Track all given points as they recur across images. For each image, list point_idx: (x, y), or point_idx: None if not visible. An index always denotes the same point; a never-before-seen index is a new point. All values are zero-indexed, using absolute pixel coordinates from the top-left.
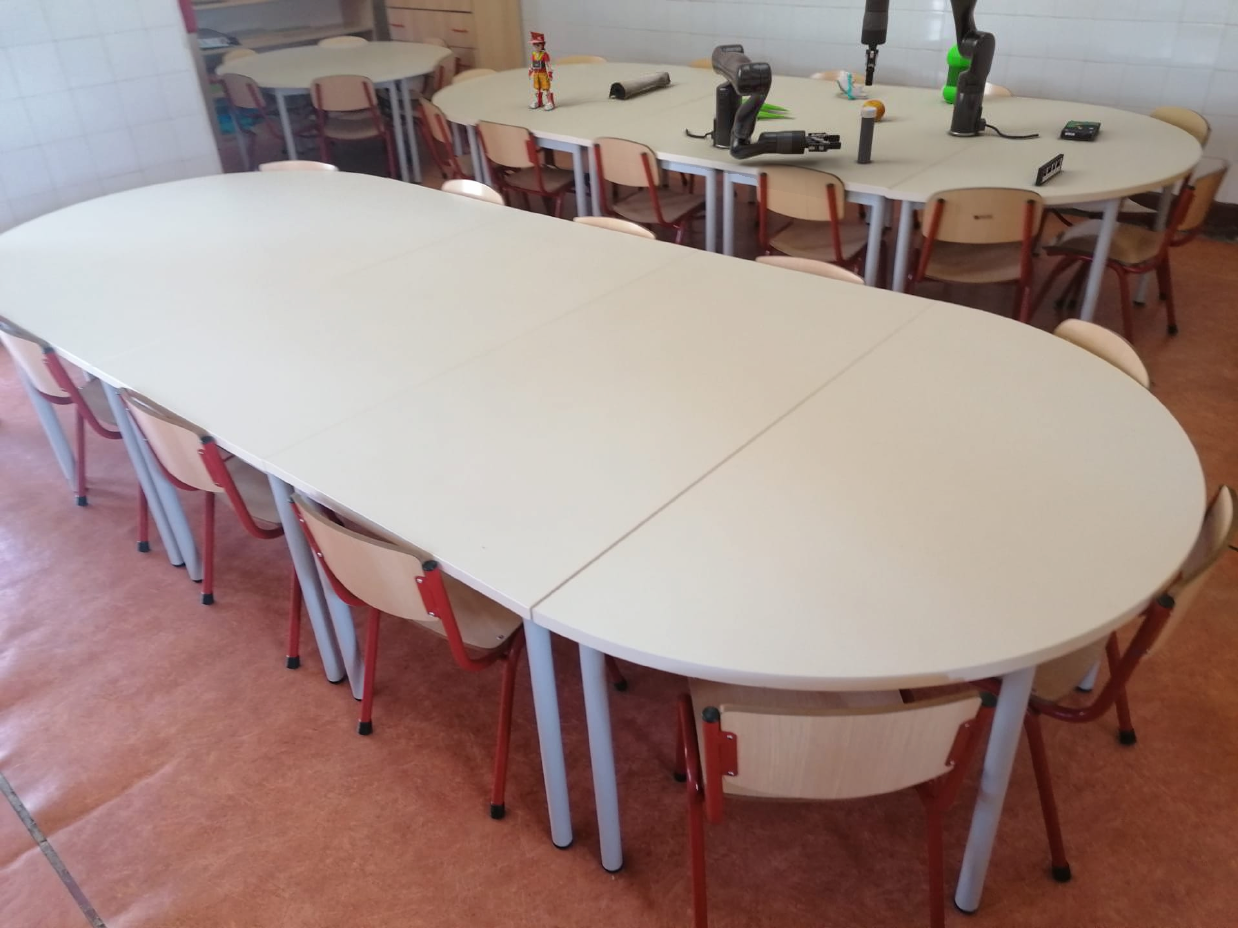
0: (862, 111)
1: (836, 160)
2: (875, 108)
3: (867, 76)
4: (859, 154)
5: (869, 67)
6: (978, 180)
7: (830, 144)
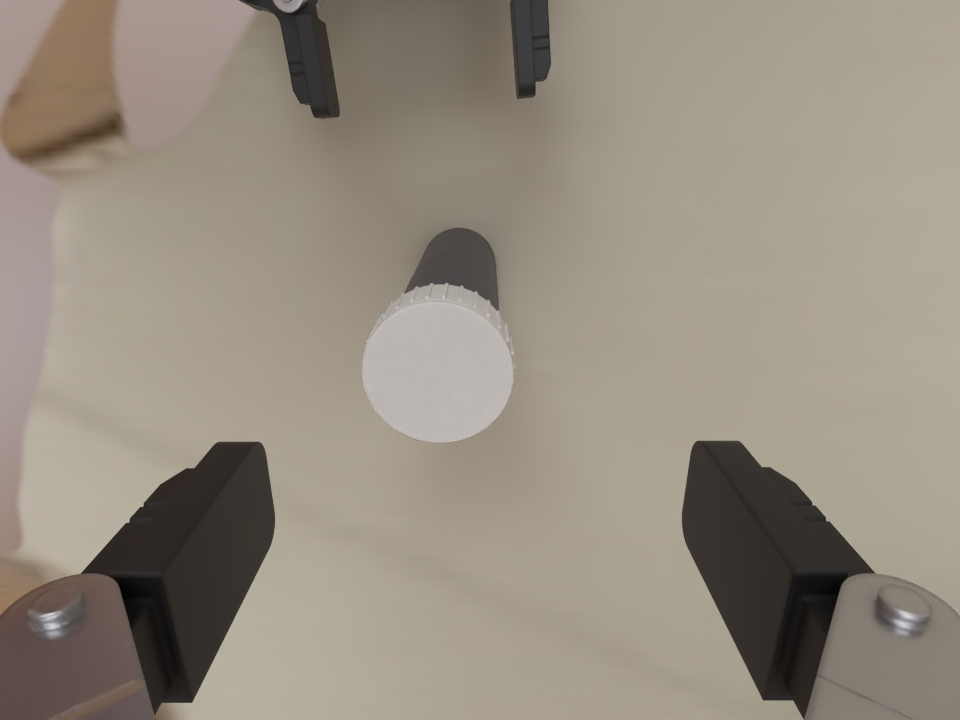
0: (398, 309)
1: (480, 95)
2: (447, 432)
3: (94, 565)
4: (433, 244)
5: (807, 628)
6: (252, 701)
7: (281, 26)
